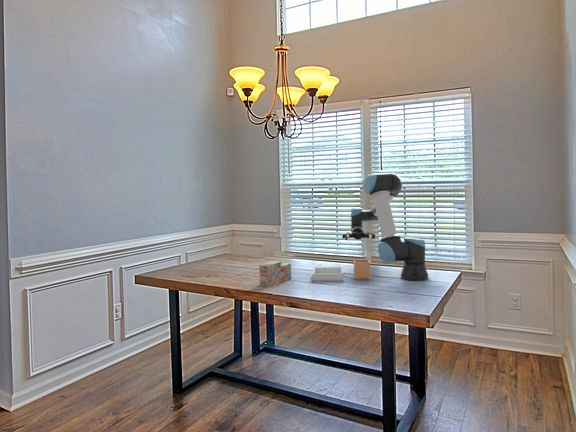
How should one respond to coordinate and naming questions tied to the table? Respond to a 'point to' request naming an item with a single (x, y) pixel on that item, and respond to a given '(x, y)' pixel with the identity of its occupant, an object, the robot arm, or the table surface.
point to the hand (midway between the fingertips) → (359, 238)
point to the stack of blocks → (274, 273)
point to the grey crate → (327, 274)
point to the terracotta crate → (362, 269)
